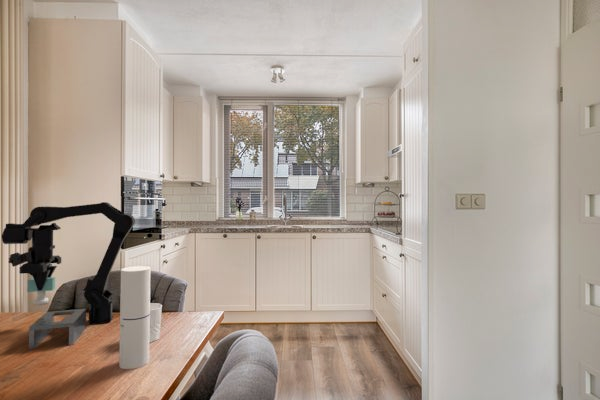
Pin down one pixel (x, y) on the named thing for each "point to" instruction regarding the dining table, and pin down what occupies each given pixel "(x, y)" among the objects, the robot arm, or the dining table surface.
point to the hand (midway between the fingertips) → (41, 289)
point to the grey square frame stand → (46, 323)
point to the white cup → (155, 321)
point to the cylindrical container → (134, 317)
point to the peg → (41, 298)
